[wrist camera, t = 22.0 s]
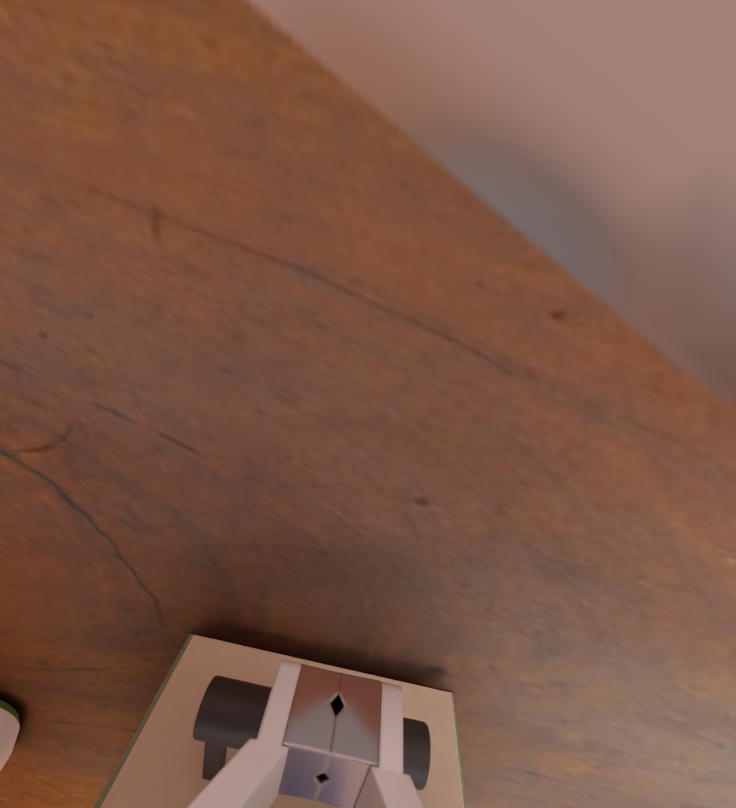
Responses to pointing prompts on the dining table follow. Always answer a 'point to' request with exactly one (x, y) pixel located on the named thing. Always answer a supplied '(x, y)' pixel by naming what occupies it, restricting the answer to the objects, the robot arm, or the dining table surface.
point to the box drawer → (241, 719)
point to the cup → (7, 731)
